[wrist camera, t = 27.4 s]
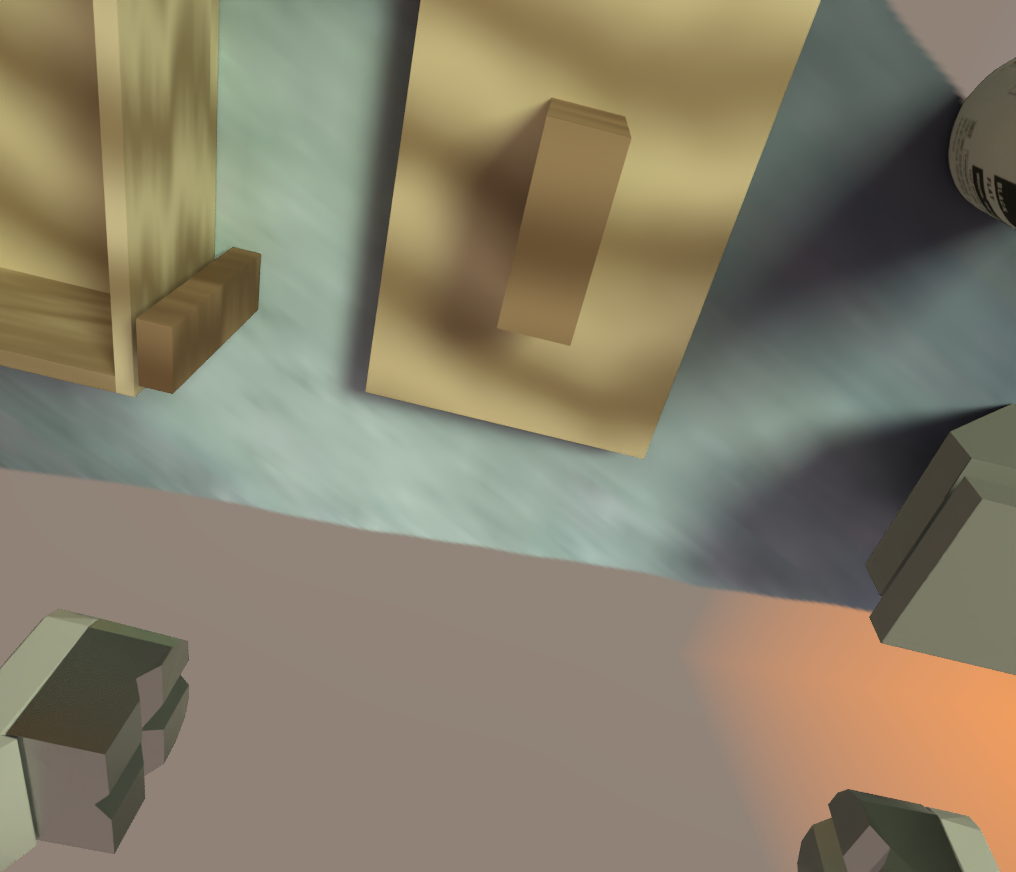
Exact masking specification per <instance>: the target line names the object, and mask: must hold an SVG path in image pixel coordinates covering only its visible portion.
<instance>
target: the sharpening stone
mask: <svg viewBox="0 0 1016 872" xmlns="http://www.w3.org/2000/svg"><path fill="white" fill-rule="evenodd" d="M865 565H866V567H867V569H868V572H869V574H870V576H871V578H872V580H873V582H874V584H875V586H876V588H877V590H878V592H879V594H880V595H881V596H883V597H882V599H881V600H880V602H879V603H878V605H877V606H876V608H875V609H874V611H873V612H872V614H871V615H870V617H869V618H870V620H871V622H872V624H873V626H874V628H875V631H876V633H877V635H878V637H879V640H880V642H881V643H883V644H887V645H891V646H896V647H900V648H905V649H909V650H912V651H917V652H921V653H925V654H929V655H933V656H938V657H942V658H946V659H950V660H954V661H959V662H963V663H967V664H972V665H975V666H980V667H984V668H988V669H992V670H996V671H1001V672H1005V673H1009V674H1013V675H1016V405H1015V404H1010V405H1008V406H1006V407H1004V408H1002V409H999V410H997V411H995V412H993V413H990V414H988V415H986V416H984V417H981V418H979V419H977V420H975V421H972V422H970V423H968V424H966V425H964V426H961V427H959V428H957V429H955V430H952V431H950V432H949V434H948V435H947V437H946V439H945V440H944V442H943V443H942V445H941V446H940V448H939V450H938V451H937V453H936V454H935V456H934V457H933V459H932V461H931V462H930V464H929V465H928V467H927V468H926V470H925V472H924V473H923V475H922V476H921V478H920V479H919V481H918V483H917V484H916V486H915V487H914V489H913V490H912V492H911V493H910V495H909V497H908V498H907V500H906V501H905V503H904V504H903V506H902V508H901V509H900V511H899V512H898V514H897V515H896V517H895V519H894V520H893V522H892V523H891V525H890V526H889V528H888V530H887V531H886V533H885V534H884V536H883V537H882V539H881V540H880V542H879V544H878V545H877V547H876V548H875V550H874V551H873V553H872V555H871V556H870V558H869V559H868V561H867V562H866V564H865Z"/></svg>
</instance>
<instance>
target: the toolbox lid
mask: <svg viewBox="0 0 1016 872" xmlns="http://www.w3.org/2000/svg"><path fill="white" fill-rule="evenodd" d="M820 1H821V0H421V1H420V8H419V15H418V22H417V30H416V37H415V44H414V51H413V58H412V65H411V72H410V79H409V86H408V93H407V100H406V108H405V115H404V122H403V129H402V136H401V143H400V150H399V157H398V164H397V171H396V178H395V185H394V193H393V200H392V207H391V214H390V221H389V228H388V235H387V242H386V249H385V256H384V263H383V270H382V278H381V285H380V292H379V299H378V306H377V313H376V320H375V327H374V334H373V341H372V348H371V355H370V363H369V370H368V377H367V384H366V391H365V392H368V393H372V394H376V395H381V396H385V397H389V398H393V399H397V400H401V401H405V402H410V403H414V404H418V405H422V406H426V407H430V408H435V409H439V410H443V411H447V412H451V413H455V414H459V415H464V416H468V417H472V418H476V419H480V420H484V421H489V422H493V423H497V424H501V425H505V426H509V427H513V428H518V429H522V430H526V431H530V432H534V433H538V434H543V435H547V436H551V437H555V438H559V439H563V440H567V441H572V442H576V443H580V444H584V445H588V446H592V447H597V448H601V449H605V450H609V451H613V452H617V453H621V454H626V455H630V456H634V457H638V458H642V459H644V457H645V455H646V452H647V449H648V447H649V444H650V442H651V439H652V436H653V434H654V431H655V429H656V426H657V423H658V421H659V418H660V416H661V413H662V410H663V408H664V405H665V403H666V400H667V397H668V395H669V392H670V390H671V387H672V384H673V382H674V379H675V377H676V374H677V372H678V369H679V366H680V364H681V361H682V359H683V356H684V353H685V351H686V348H687V346H688V343H689V340H690V338H691V335H692V333H693V330H694V327H695V325H696V322H697V320H698V317H699V314H700V312H701V309H702V307H703V304H704V302H705V299H706V296H707V294H708V291H709V289H710V286H711V283H712V281H713V278H714V276H715V273H716V270H717V268H718V265H719V263H720V260H721V257H722V255H723V252H724V250H725V247H726V244H727V242H728V239H729V237H730V234H731V231H732V229H733V226H734V224H735V221H736V219H737V216H738V213H739V211H740V208H741V206H742V203H743V200H744V198H745V195H746V193H747V190H748V187H749V185H750V182H751V180H752V177H753V174H754V172H755V169H756V167H757V164H758V161H759V159H760V156H761V154H762V151H763V148H764V146H765V143H766V141H767V138H768V136H769V133H770V130H771V128H772V125H773V123H774V120H775V117H776V115H777V112H778V110H779V107H780V104H781V102H782V99H783V97H784V94H785V91H786V89H787V86H788V84H789V81H790V78H791V76H792V73H793V71H794V68H795V65H796V63H797V60H798V58H799V55H800V53H801V50H802V47H803V45H804V42H805V40H806V37H807V34H808V32H809V29H810V27H811V24H812V21H813V19H814V16H815V14H816V11H817V8H818V6H819V3H820Z"/></svg>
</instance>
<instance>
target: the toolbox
mask: <svg viewBox="0 0 1016 872" xmlns="http://www.w3.org/2000/svg"><path fill="white" fill-rule="evenodd" d="M218 37H219V0H0V365H2V366H6V367H10V368H14V369H18V370H23V371H27V372H31V373H35V374H39V375H44V376H48V377H52V378H56V379H60V380H65V381H69V382H73V383H77V384H82V385H86V386H90V387H94V388H98V389H103V390H107V391H111V392H115V393H119V394H124V395H128V396H132V397H135V396H136V395H137V394H138V393H140V392H141V391H142V390H143V389H144V388H145V387H146V388H150V389H154V390H159V391H163V392H167V393H171V394H173V393H174V392H175V391H176V390H177V389H178V388H179V387H180V386H181V385H182V384H183V383H184V382H185V381H186V380H187V379H188V378H189V377H190V376H191V375H192V374H193V373H194V372H195V371H196V370H197V369H198V368H199V367H200V366H202V365H203V364H204V363H205V362H206V361H207V360H208V359H209V358H210V357H211V356H212V355H213V354H214V353H215V352H216V351H217V350H218V349H219V348H220V347H221V346H222V345H223V344H224V343H225V342H226V341H227V340H228V339H229V338H230V337H231V336H232V335H233V334H234V333H235V332H236V331H237V330H238V329H239V328H240V327H241V326H242V325H243V324H244V323H245V322H246V321H247V320H248V319H249V318H250V317H251V316H252V315H253V314H254V313H255V312H256V311H257V310H258V301H259V282H260V263H261V254H259V253H255V252H251V251H247V250H243V249H239V248H235V247H232V248H231V249H229V250H228V251H227V252H225V253H224V254H223V255H221V256H220V257H219V258H217V259H216V260H215V261H214V259H215V203H216V148H217V92H218Z"/></svg>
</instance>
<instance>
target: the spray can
mask: <svg viewBox="0 0 1016 872" xmlns="http://www.w3.org/2000/svg"><path fill="white" fill-rule="evenodd" d="M948 161H949V169H950V172H951V175H952V177H953V180H954V183H955V185H956V187H957V188H958V190H959V191H960V193H961V194H962V195H963V196H964V198H965V199H966V200H967V201H969V202H970V203H971V204H972V205H974V206H975V207H977V208H978V209H980V210H981V211H983V212H985V213H987V214H988V215H990V216H992V217H993V218H995V219H997V220H999V221H1001V222H1004V223H1005V224H1007V225H1008V226H1010V227H1012V228H1014V229H1016V58H1014V59H1012V60H1011V61H1009V62H1007V63H1006V64H1004V65H1002V66H1001V67H999V68H998V69H996V70H994V71H993V72H992V73H991V74H990V75H988V76H987V77H986V78H985V79H984V80H983V81H982V82H981V83H980V84H979V85H978V86H977V87H976V89H975V90H974V91H973V92H972V93H971V94H970V95H969V96H968V97H967V98H966V100H965V101H964V103H963V104H962V106H961V109H960V111H959V113H958V115H957V118H956V120H955V122H954V125H953V129H952V132H951V137H950V144H949V150H948Z"/></svg>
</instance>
